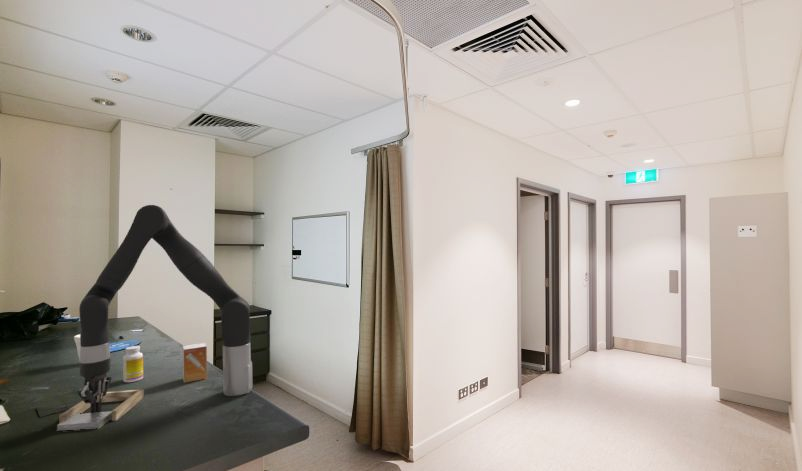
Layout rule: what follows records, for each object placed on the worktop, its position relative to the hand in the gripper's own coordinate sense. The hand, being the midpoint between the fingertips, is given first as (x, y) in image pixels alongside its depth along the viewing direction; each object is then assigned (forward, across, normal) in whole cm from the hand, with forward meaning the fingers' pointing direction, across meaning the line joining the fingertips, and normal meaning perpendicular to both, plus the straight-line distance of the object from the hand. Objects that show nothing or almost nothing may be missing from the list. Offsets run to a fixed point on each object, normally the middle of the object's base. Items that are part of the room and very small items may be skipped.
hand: (96, 413), depth 121 cm
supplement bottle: (+1, +33, +5) cm, 33 cm away
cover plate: (+2, -5, 0) cm, 5 cm away
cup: (+1, +60, +36) cm, 70 cm away
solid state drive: (+2, +9, +18) cm, 20 cm away
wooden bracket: (+1, +4, 0) cm, 4 cm away
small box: (+1, +29, -19) cm, 35 cm away
